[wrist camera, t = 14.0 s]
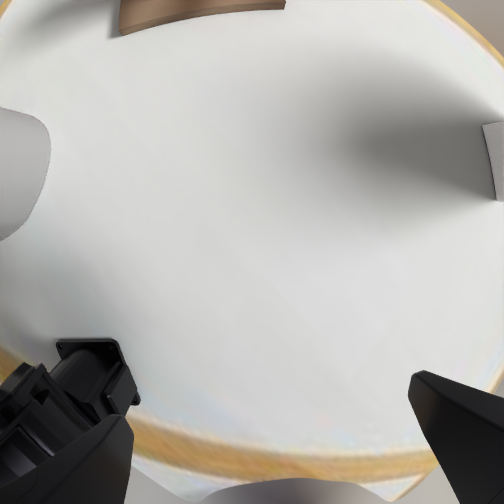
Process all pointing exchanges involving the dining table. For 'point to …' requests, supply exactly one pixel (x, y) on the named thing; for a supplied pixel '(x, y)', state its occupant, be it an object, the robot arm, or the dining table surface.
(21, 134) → the lumpy-topped squat cylinder
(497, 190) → the milk carton
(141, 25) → the walnut board
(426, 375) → the robot arm
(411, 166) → the dining table surface
